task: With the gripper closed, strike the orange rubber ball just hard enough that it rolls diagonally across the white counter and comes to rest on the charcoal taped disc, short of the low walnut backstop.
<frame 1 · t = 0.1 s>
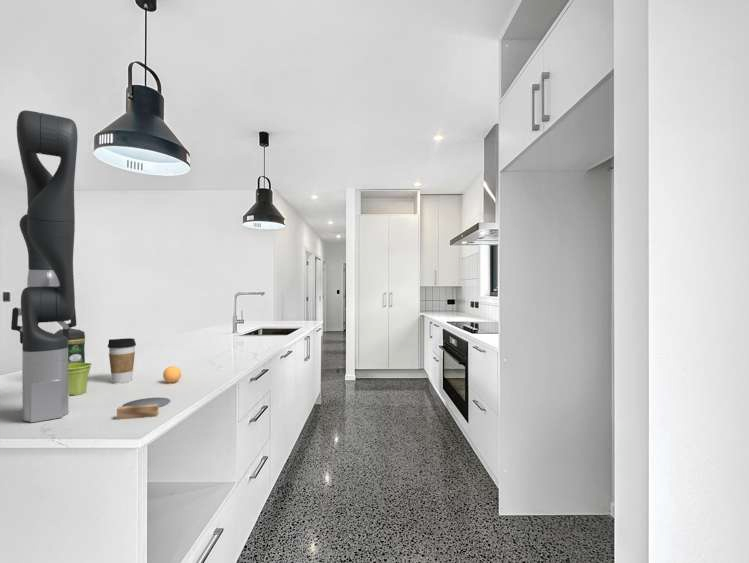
hand: (45, 343, 116), 17 cm above the table, tool pointing down, fingers open, 8 cm apart
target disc: (146, 404, 116), on the table
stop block: (138, 416, 105), on the table
plant pot: (73, 394, 128), on the table
ball: (172, 374, 142), on the table
coffee jar: (70, 382, 144), on the table
coffee cup: (122, 382, 143), on the table
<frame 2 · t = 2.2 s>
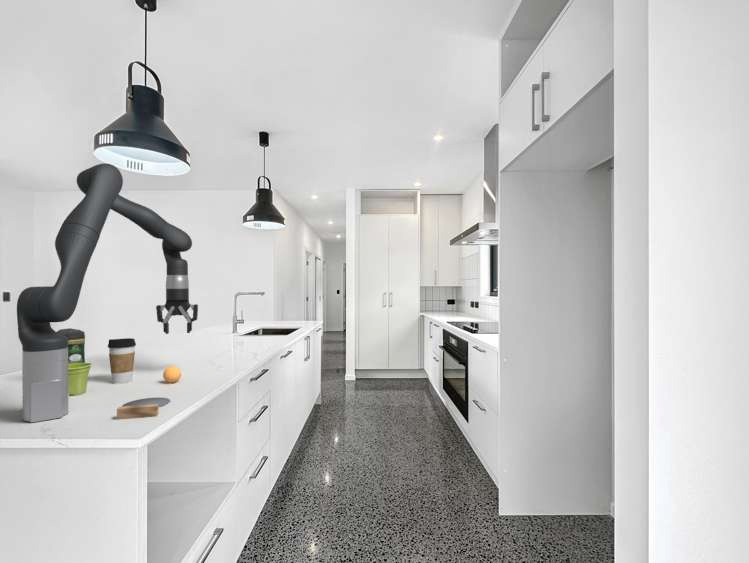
hand: (177, 333, 151), 16 cm above the table, tool pointing down, fingers open, 6 cm apart
nothing on the table moved.
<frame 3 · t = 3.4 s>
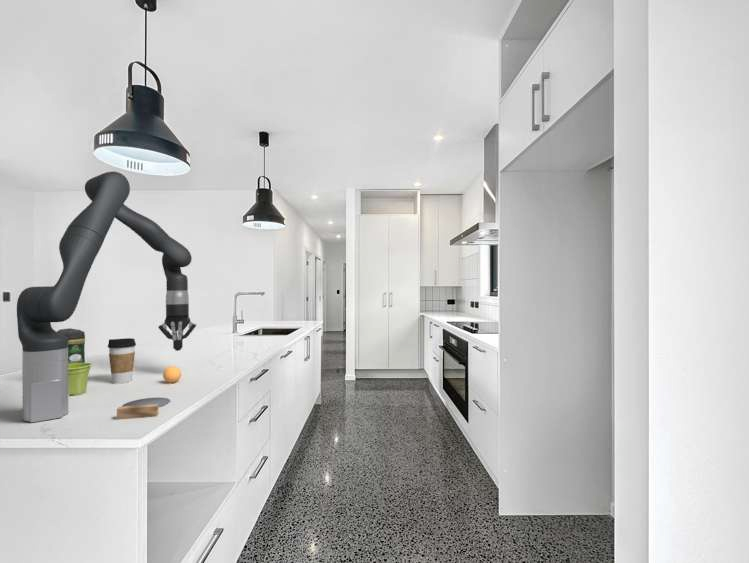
hand: (177, 350, 151), 10 cm above the table, tool pointing down, fingers closed
nothing on the table moved.
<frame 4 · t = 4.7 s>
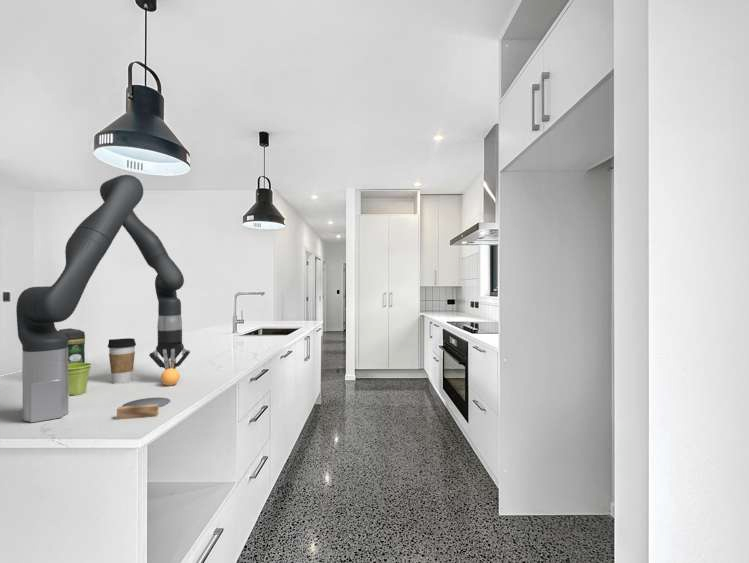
hand: (170, 379, 141), 1 cm above the table, tool pointing down, fingers closed
ball: (170, 376, 138), on the table
everything else where it was.
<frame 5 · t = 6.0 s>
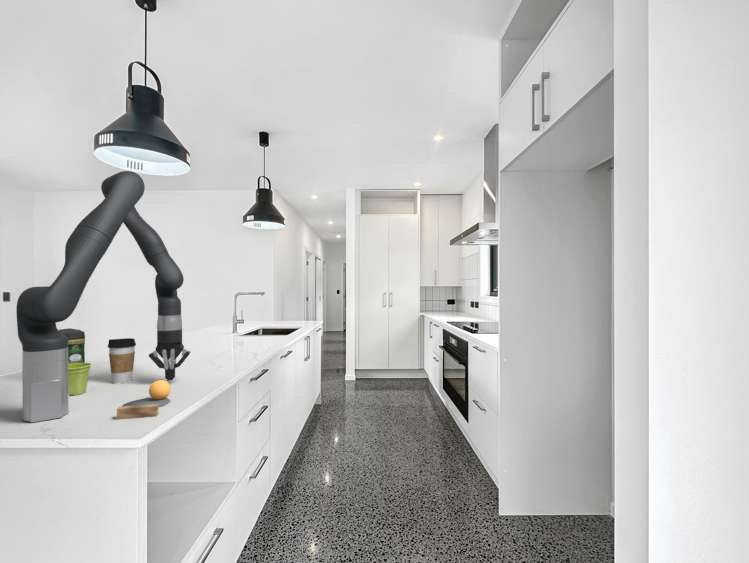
hand: (170, 380, 139), 2 cm above the table, tool pointing down, fingers closed
ball: (159, 390, 121), on the table
everything else where it was.
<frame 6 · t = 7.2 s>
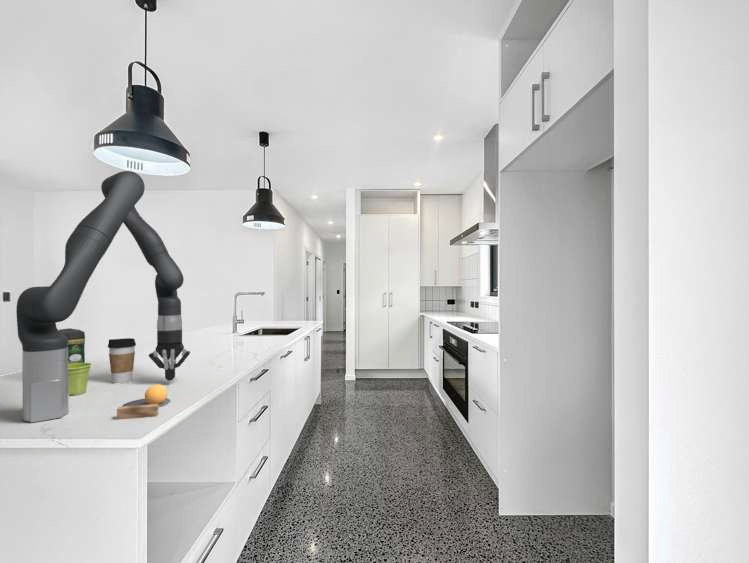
hand: (170, 380, 139), 2 cm above the table, tool pointing down, fingers closed
ball: (156, 394, 115), on the table
everything else where it was.
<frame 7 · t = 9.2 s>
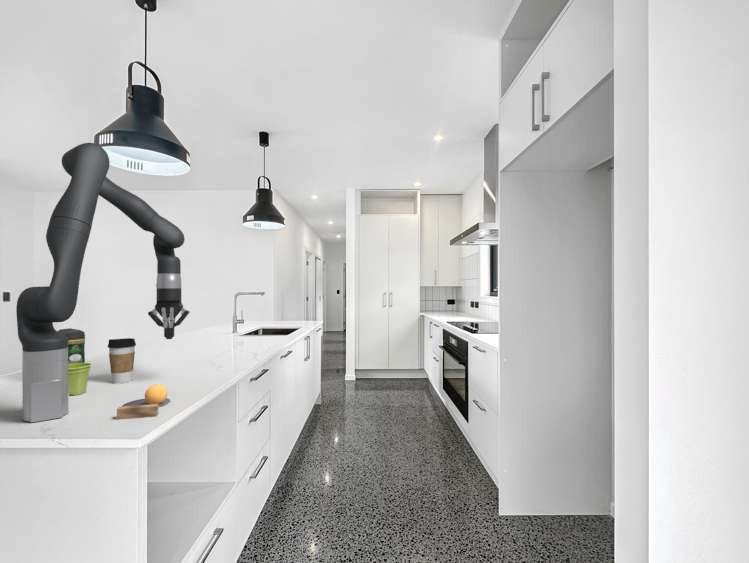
hand: (169, 338, 139), 15 cm above the table, tool pointing down, fingers closed
nothing on the table moved.
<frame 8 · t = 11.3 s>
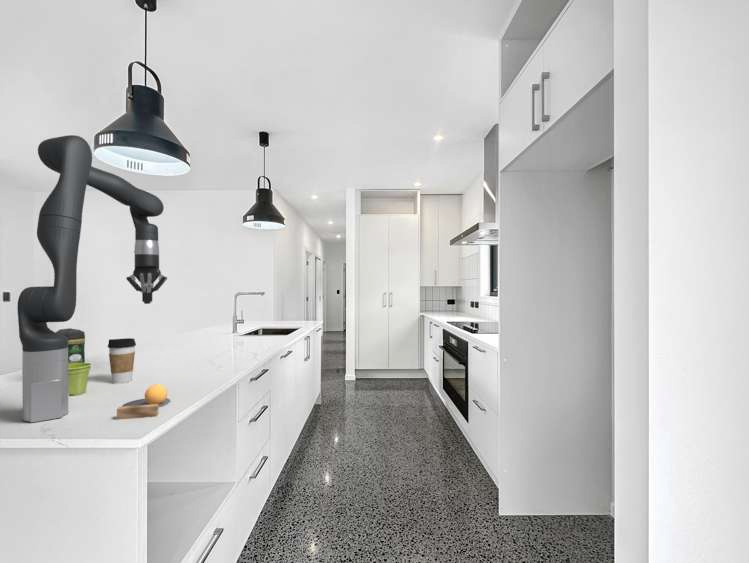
hand: (147, 303, 144), 27 cm above the table, tool pointing down, fingers closed
nothing on the table moved.
at the end: ball 3.1 cm from the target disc (horizontally); ball at rest at the end (0.0 cm/s); ball moved 27.3 cm from its start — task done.
